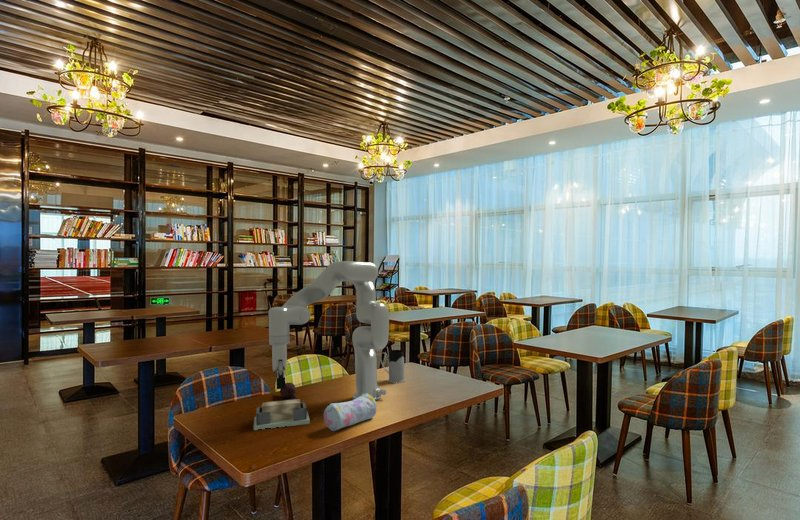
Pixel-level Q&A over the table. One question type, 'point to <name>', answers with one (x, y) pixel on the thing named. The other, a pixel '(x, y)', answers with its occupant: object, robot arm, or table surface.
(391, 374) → the glass holder
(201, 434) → the table surface
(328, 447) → the table surface
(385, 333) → the robot arm
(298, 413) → the end caps
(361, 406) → the pencil case
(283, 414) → the beige long block
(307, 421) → the base board
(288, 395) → the icecream
